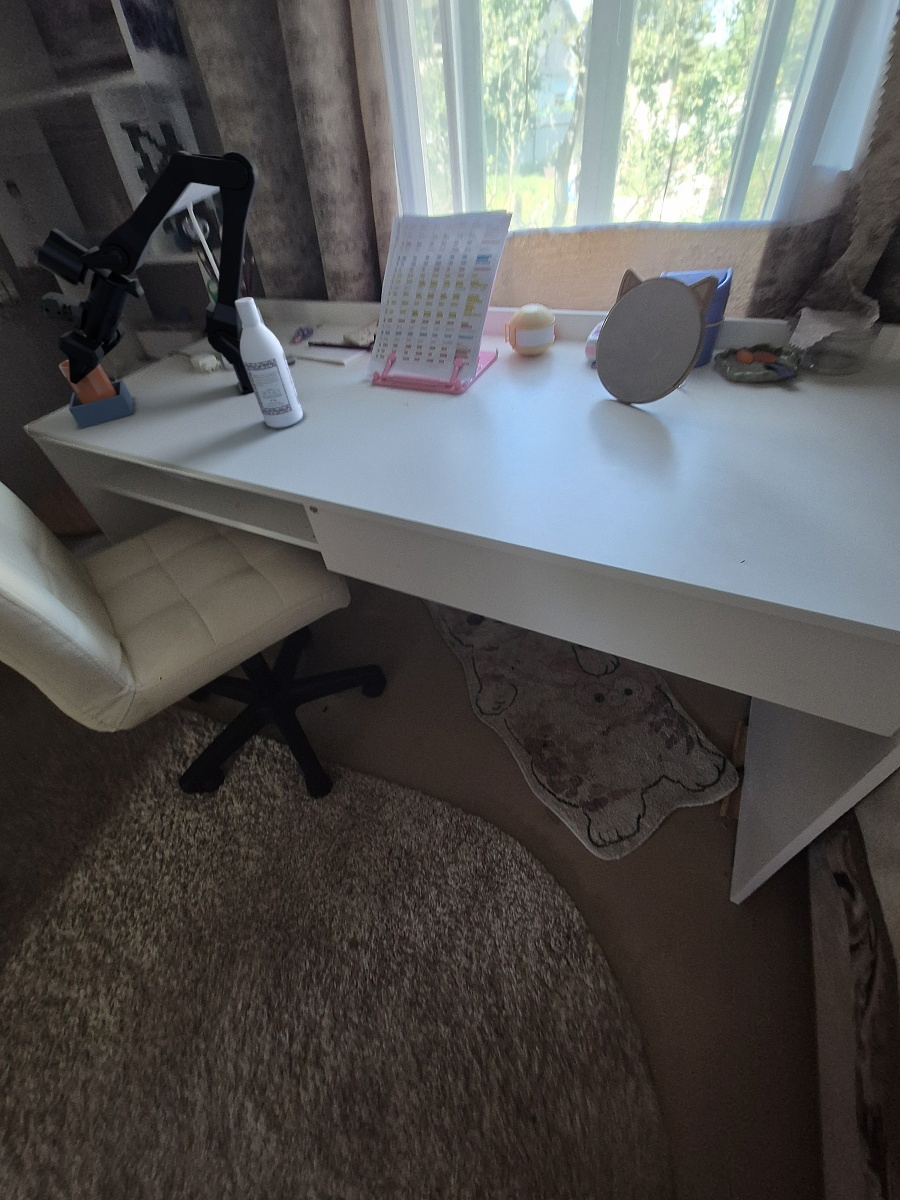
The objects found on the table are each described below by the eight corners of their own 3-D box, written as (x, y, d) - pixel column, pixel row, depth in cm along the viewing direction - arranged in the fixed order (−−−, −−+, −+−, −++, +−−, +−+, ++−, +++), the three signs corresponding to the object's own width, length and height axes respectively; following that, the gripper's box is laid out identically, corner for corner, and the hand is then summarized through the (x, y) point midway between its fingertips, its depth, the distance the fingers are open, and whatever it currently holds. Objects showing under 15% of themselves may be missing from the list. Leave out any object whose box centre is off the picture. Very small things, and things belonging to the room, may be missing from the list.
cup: (128, 407, 109) (101, 357, 102) (96, 420, 106) (66, 370, 99) (115, 400, 113) (88, 352, 106) (84, 413, 110) (54, 364, 103)
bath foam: (281, 410, 100) (241, 293, 86) (311, 413, 97) (274, 293, 84) (258, 427, 96) (212, 306, 82) (288, 430, 93) (246, 306, 79)
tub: (132, 414, 107) (122, 395, 105) (80, 428, 105) (68, 409, 102) (132, 398, 114) (122, 379, 112) (83, 411, 112) (72, 392, 109)
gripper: (73, 262, 100) (51, 334, 107) (33, 285, 86) (11, 366, 93) (136, 301, 105) (112, 367, 113) (108, 328, 92) (83, 401, 99)
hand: (81, 374), depth 104 cm, fingers open, 9 cm apart
